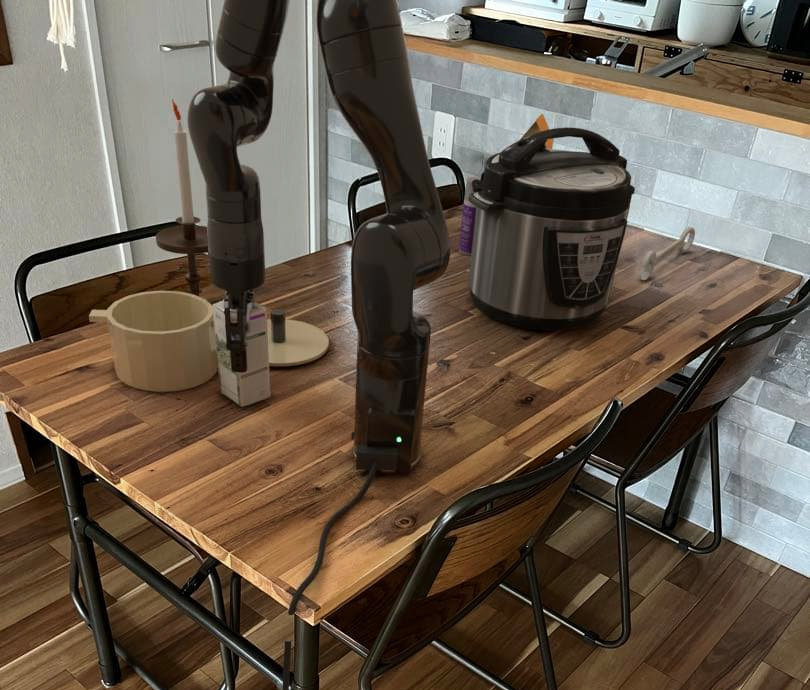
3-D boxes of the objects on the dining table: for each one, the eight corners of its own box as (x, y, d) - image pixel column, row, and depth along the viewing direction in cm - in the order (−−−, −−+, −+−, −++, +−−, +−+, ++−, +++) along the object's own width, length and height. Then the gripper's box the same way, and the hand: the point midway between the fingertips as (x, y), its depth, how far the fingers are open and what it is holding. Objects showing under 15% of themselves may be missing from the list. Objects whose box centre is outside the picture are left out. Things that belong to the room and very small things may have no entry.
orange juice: (507, 204, 213) (519, 117, 200) (515, 194, 219) (527, 110, 207) (538, 209, 211) (552, 122, 199) (544, 199, 218) (558, 115, 205)
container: (456, 253, 183) (464, 180, 173) (461, 246, 186) (469, 175, 177) (477, 256, 182) (486, 184, 173) (482, 249, 185) (491, 178, 176)
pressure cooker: (453, 330, 152) (474, 140, 132) (460, 272, 174) (479, 103, 154) (620, 347, 151) (666, 159, 131) (606, 287, 173) (643, 118, 153)
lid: (327, 371, 136) (328, 336, 132) (222, 367, 135) (219, 331, 131) (329, 327, 149) (330, 293, 145) (233, 323, 148) (231, 289, 144)
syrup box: (272, 397, 129) (269, 306, 120) (239, 408, 125) (234, 316, 116) (250, 382, 132) (245, 293, 123) (218, 393, 128) (210, 302, 119)
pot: (229, 394, 128) (224, 336, 123) (87, 389, 127) (76, 330, 121) (239, 348, 141) (236, 293, 135) (110, 343, 139) (101, 287, 133)
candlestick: (179, 336, 143) (154, 109, 121) (156, 311, 150) (129, 93, 128) (238, 324, 148) (225, 104, 126) (213, 301, 155) (196, 89, 133)
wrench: (645, 285, 175) (652, 256, 172) (635, 282, 176) (642, 253, 173) (691, 250, 194) (698, 224, 190) (681, 248, 195) (689, 222, 191)
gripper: (214, 229, 120) (222, 335, 130) (201, 266, 109) (210, 379, 119) (268, 232, 120) (271, 337, 130) (259, 269, 109) (264, 381, 119)
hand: (242, 357), depth 125 cm, fingers closed on syrup box, 8 cm apart
